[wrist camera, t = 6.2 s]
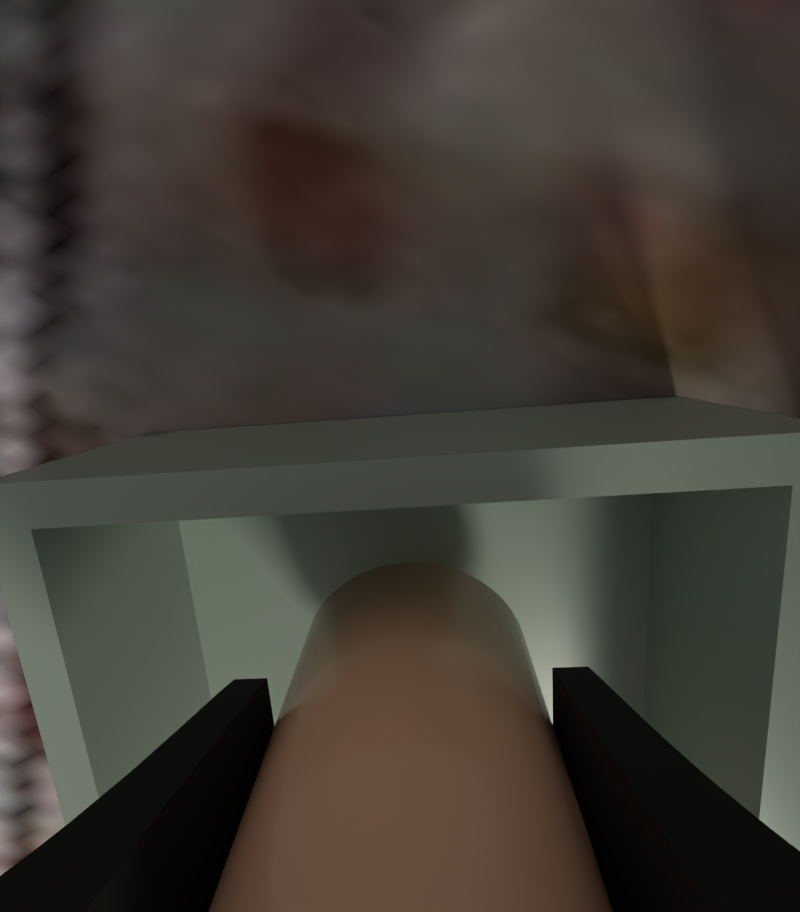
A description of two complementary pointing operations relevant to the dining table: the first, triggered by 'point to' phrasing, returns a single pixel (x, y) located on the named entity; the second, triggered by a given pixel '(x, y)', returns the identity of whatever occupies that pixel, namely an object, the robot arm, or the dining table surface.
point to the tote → (428, 541)
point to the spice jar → (413, 765)
